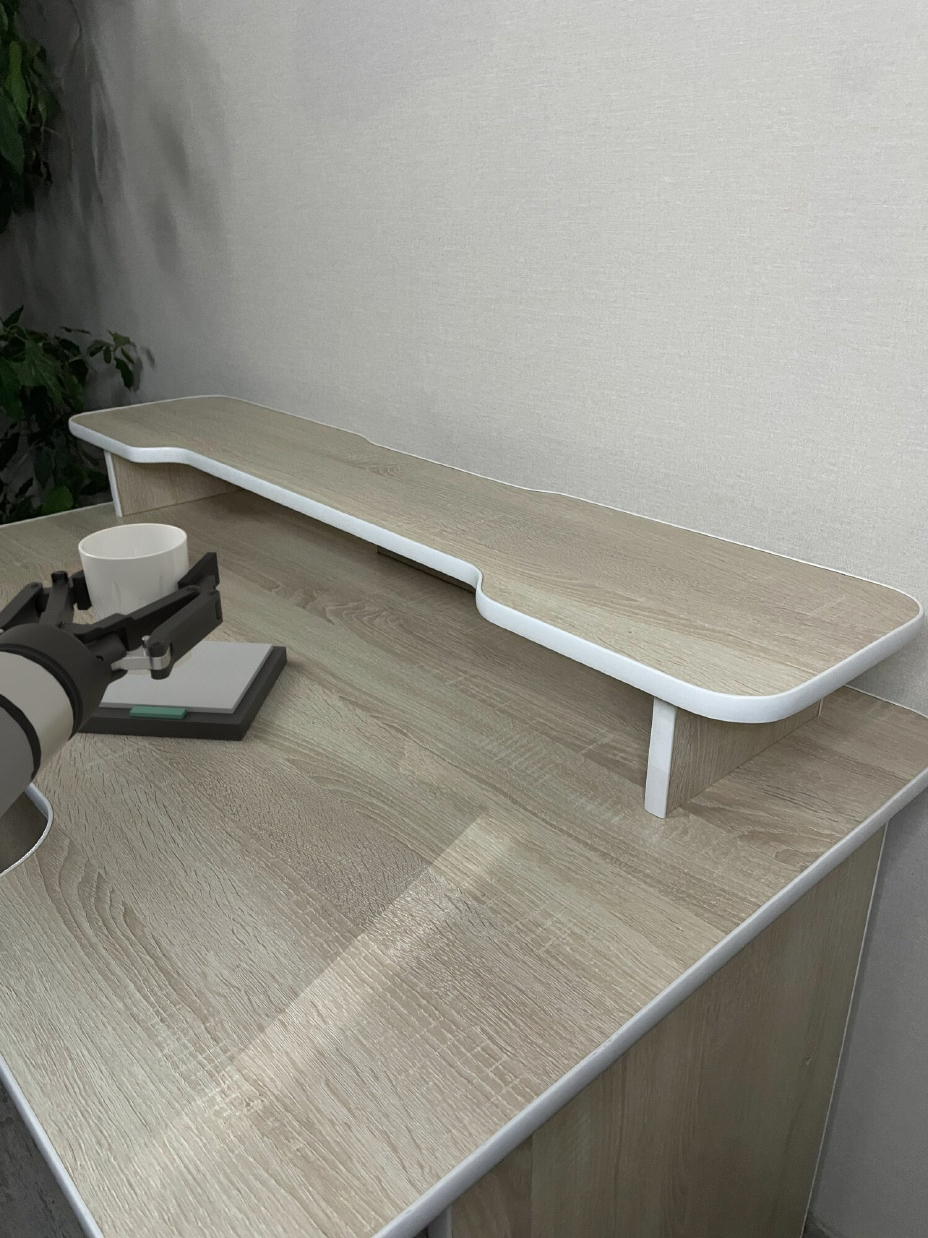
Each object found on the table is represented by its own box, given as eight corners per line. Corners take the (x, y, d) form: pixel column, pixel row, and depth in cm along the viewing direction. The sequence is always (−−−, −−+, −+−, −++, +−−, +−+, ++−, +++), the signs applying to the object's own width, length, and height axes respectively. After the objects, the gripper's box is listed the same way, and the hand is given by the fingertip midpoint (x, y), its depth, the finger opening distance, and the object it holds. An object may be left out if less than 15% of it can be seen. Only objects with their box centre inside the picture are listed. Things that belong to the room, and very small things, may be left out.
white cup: (222, 650, 77) (208, 534, 72) (145, 689, 71) (125, 566, 66) (156, 627, 80) (139, 516, 76) (78, 663, 74) (55, 545, 70)
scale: (74, 732, 87) (70, 709, 86) (143, 654, 102) (140, 634, 101) (241, 741, 86) (239, 718, 85) (287, 661, 101) (285, 641, 100)
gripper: (-124, 745, 59) (54, 601, 80) (189, 765, 57) (289, 612, 78) (-157, 639, 56) (38, 517, 77) (173, 656, 54) (282, 526, 75)
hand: (164, 565), depth 77 cm, fingers closed on white cup, 8 cm apart
